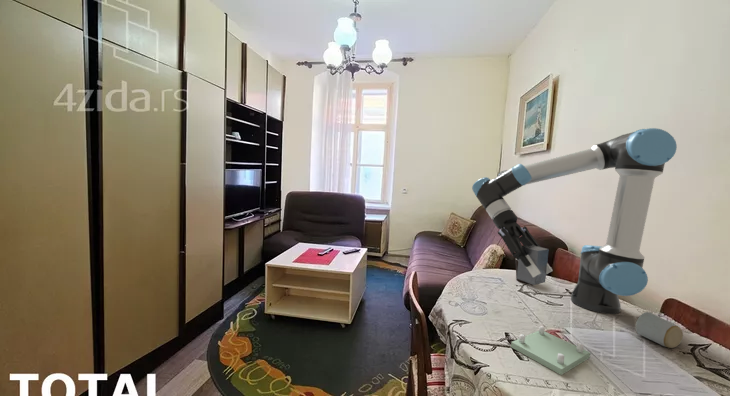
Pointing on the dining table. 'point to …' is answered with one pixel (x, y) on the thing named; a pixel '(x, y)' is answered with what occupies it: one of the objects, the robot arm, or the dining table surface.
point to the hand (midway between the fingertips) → (543, 273)
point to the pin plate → (551, 350)
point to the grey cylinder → (659, 330)
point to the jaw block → (539, 259)
